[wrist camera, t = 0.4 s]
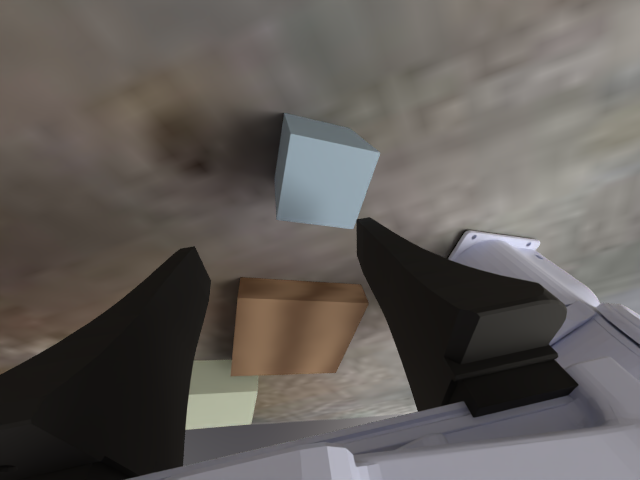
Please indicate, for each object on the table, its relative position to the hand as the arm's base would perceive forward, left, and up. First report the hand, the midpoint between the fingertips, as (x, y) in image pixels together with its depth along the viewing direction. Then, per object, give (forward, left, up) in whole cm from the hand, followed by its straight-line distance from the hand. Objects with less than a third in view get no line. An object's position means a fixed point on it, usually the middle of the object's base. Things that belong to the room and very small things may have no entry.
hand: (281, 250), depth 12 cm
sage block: (+3, +27, -9) cm, 28 cm away
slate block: (-2, -2, -9) cm, 9 cm away
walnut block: (-4, +16, -9) cm, 19 cm away
